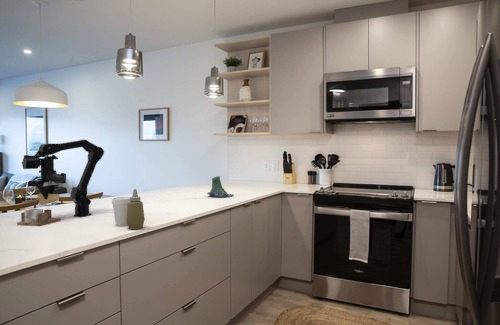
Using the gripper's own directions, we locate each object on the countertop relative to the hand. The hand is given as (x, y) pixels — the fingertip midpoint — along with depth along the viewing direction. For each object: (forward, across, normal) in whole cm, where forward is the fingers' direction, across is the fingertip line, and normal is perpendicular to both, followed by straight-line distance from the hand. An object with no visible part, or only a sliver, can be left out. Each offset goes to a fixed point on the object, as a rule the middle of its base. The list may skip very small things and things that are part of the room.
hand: (48, 199), depth 171 cm
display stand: (+11, -5, 0) cm, 12 cm away
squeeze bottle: (+11, -6, -53) cm, 54 cm away
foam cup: (+11, 0, -43) cm, 44 cm away
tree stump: (+11, +101, -60) cm, 118 cm away
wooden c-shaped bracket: (+1, -4, 0) cm, 5 cm away
